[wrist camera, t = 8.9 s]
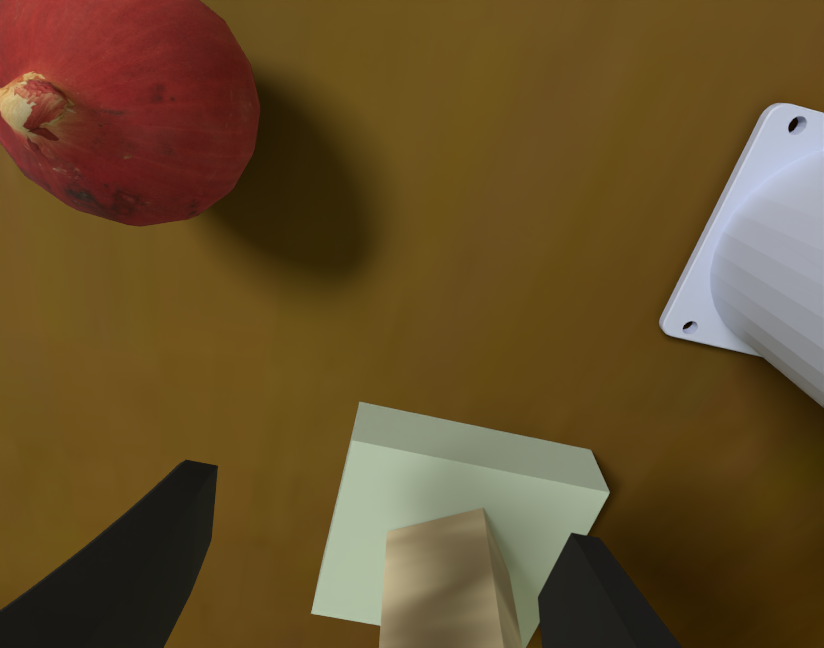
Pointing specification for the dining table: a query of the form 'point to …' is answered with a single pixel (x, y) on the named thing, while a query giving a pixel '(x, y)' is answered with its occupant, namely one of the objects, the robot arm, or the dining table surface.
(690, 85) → the dining table surface
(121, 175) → the onion
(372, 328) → the dining table surface
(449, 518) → the beech block
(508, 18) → the dining table surface
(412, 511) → the stacking block
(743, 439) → the dining table surface
